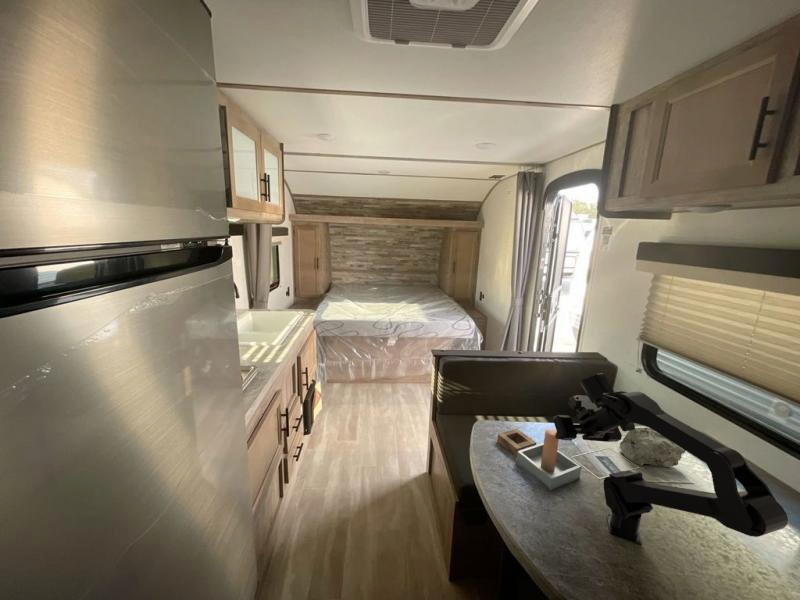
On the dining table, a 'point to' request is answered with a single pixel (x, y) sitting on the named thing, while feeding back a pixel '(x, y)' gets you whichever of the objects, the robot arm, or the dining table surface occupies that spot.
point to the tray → (562, 474)
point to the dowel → (549, 451)
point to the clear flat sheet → (599, 450)
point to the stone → (650, 448)
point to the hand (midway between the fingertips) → (569, 437)
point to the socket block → (515, 434)
